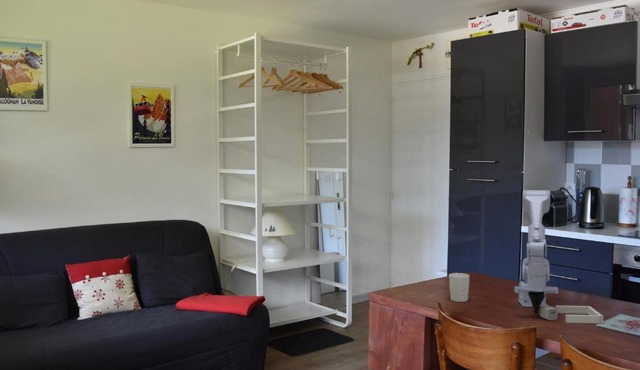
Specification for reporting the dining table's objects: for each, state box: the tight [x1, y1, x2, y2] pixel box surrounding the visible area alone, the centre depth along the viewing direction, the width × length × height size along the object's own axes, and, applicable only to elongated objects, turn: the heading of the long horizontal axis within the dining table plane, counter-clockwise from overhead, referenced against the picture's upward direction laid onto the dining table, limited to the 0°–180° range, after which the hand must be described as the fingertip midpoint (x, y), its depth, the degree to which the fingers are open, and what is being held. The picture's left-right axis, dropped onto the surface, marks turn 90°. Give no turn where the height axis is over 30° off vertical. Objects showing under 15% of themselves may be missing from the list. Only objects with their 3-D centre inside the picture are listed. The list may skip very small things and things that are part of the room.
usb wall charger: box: [538, 304, 559, 321], centre depth 204 cm, size 4×7×4 cm, turn 19°
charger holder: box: [555, 305, 604, 324], centre depth 203 cm, size 12×13×2 cm
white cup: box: [448, 272, 470, 303], centre depth 229 cm, size 8×8×10 cm
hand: (536, 312), depth 204 cm, fingers closed
